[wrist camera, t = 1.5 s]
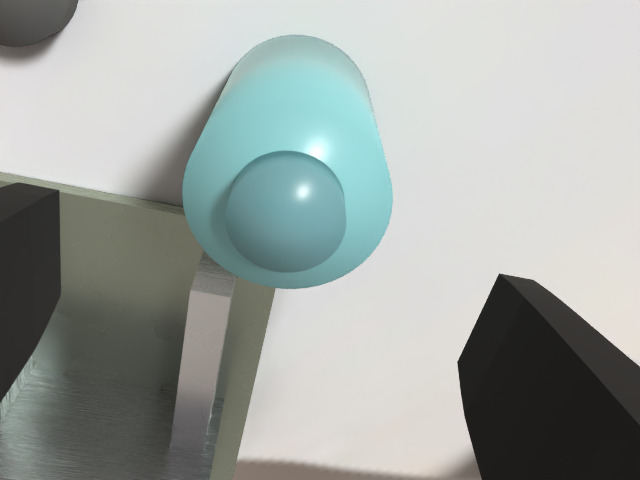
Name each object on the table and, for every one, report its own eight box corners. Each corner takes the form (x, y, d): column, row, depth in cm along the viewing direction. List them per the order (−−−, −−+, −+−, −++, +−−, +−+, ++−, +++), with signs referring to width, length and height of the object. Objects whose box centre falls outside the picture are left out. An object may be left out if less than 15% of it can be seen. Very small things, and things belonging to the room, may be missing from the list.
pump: (387, 54, 16) (426, 143, 10) (350, 189, 18) (364, 325, 13) (234, 18, 16) (185, 91, 10) (215, 162, 18) (165, 291, 12)
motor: (287, 227, 19) (275, 363, 14) (227, 497, 27) (203, 655, 21) (-56, 161, 18) (-226, 281, 12) (-17, 463, 25) (-111, 623, 20)
